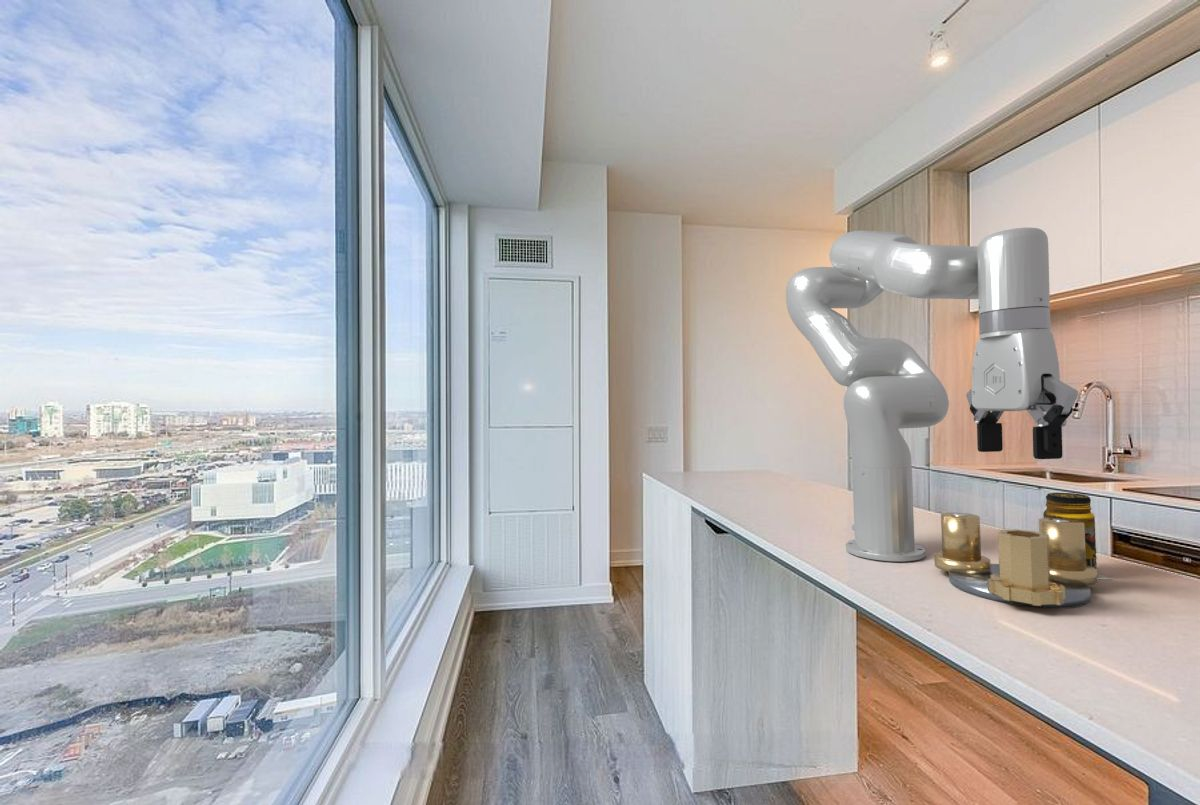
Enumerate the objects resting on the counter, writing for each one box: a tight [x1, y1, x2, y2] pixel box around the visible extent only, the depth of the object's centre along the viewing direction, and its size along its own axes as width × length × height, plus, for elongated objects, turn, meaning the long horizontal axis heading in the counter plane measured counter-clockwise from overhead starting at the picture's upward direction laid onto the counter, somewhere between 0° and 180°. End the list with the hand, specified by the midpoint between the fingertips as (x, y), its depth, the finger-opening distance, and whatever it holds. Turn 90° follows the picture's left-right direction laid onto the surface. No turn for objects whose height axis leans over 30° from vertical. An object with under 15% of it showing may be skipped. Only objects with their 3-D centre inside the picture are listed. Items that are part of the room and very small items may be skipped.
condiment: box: [1042, 492, 1112, 581], centre depth 85 cm, size 7×8×12 cm
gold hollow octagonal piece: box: [987, 528, 1065, 606], centre depth 72 cm, size 8×8×8 cm
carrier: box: [933, 512, 1098, 609], centre depth 79 cm, size 18×19×9 cm
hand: (1017, 454), depth 72 cm, fingers open, 9 cm apart
